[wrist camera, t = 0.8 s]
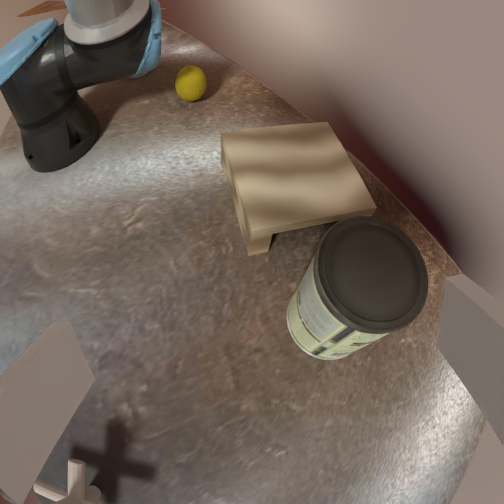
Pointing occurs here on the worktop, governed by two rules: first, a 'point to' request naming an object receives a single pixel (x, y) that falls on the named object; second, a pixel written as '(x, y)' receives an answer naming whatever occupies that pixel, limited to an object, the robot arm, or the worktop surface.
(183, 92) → the lemon
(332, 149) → the wooden block
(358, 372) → the worktop surface
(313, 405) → the worktop surface
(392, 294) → the coffee can
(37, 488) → the pipe connector
